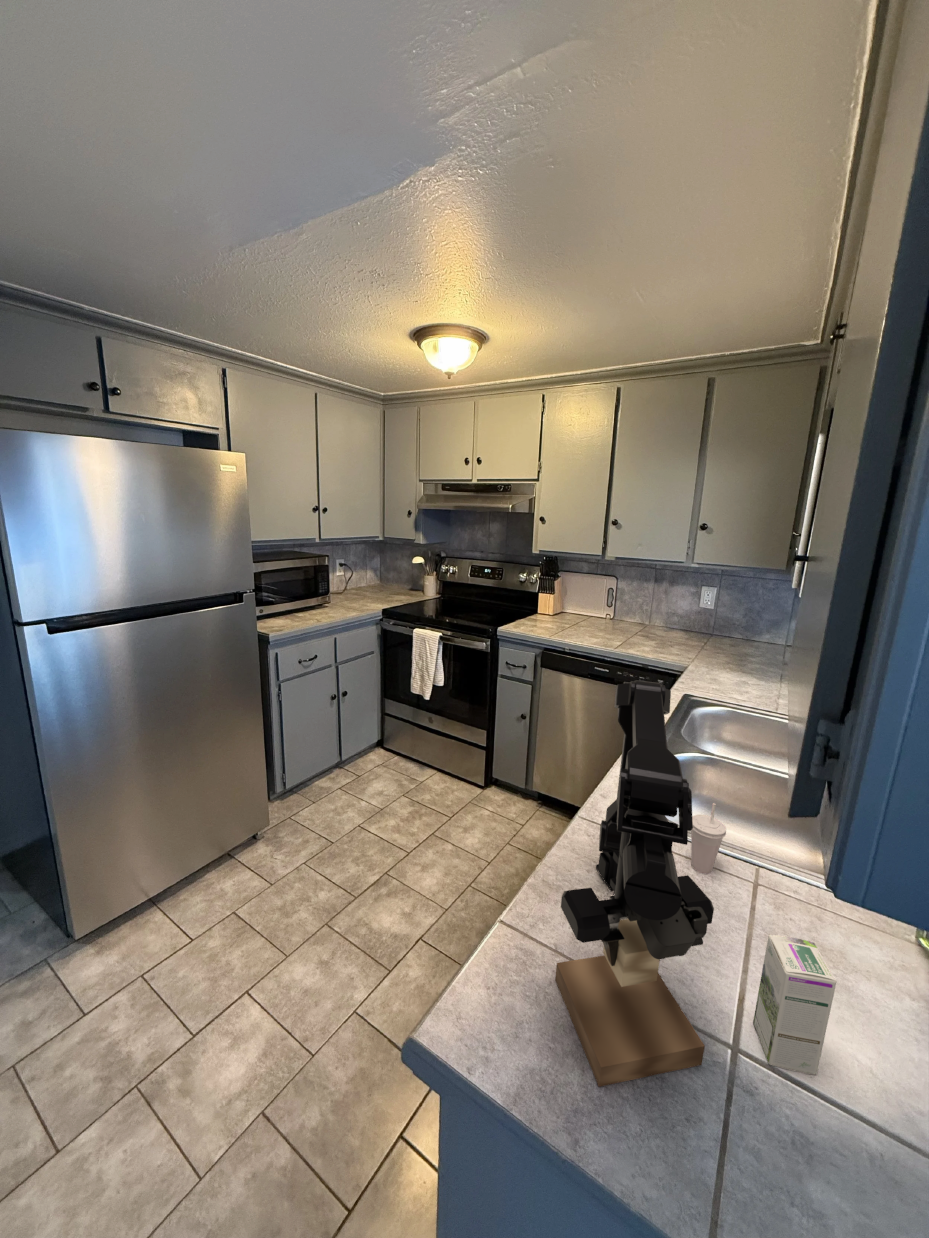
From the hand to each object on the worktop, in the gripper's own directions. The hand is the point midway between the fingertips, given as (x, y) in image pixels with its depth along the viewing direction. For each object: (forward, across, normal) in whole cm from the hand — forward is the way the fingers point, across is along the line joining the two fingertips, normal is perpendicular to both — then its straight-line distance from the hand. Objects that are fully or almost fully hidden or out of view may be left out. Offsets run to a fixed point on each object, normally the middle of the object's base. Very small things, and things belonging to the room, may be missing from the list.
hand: (629, 960), depth 65 cm
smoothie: (+10, +31, +25) cm, 41 cm away
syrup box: (+10, +19, -7) cm, 23 cm away
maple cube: (+1, 0, 0) cm, 1 cm away
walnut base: (+10, 0, 0) cm, 10 cm away
